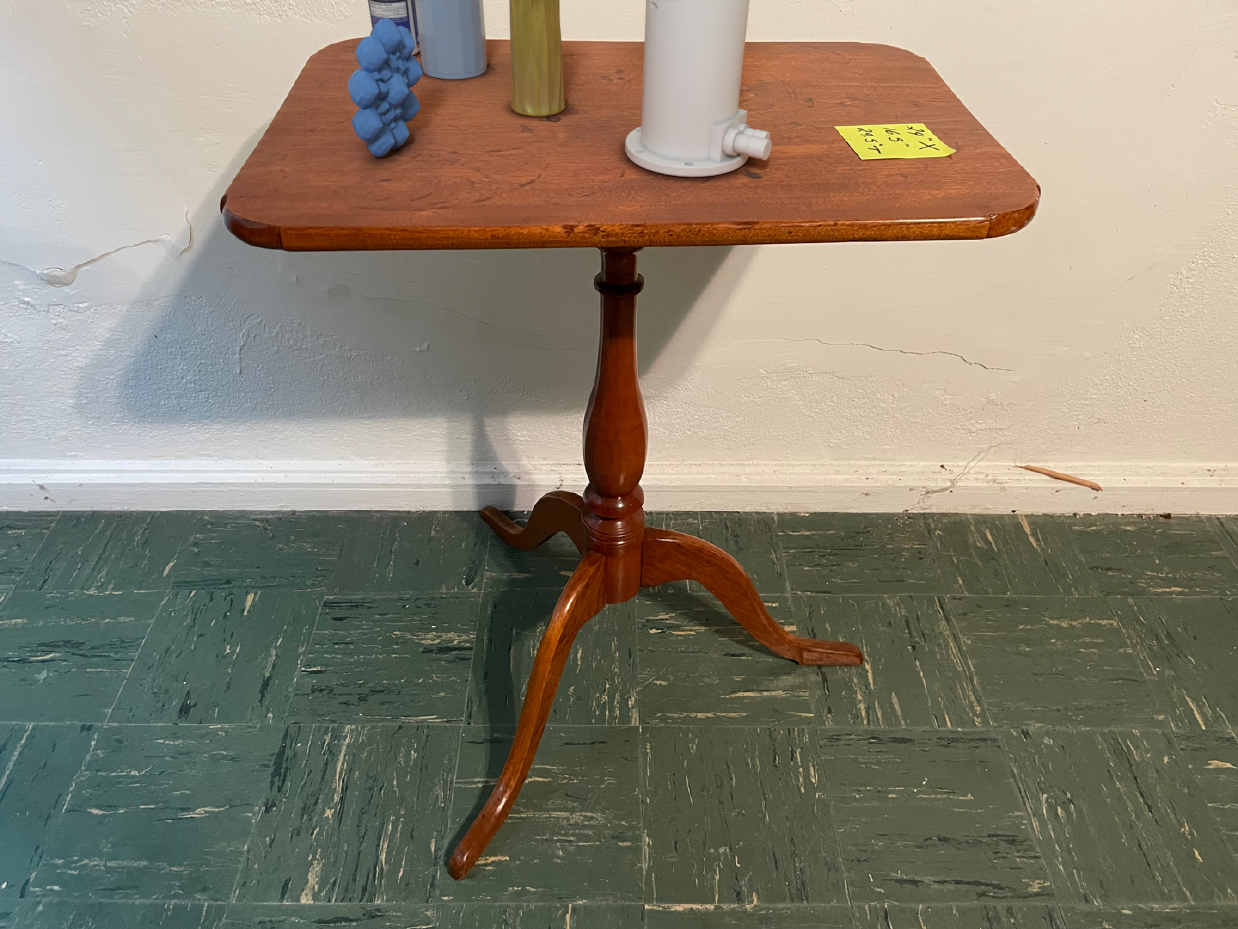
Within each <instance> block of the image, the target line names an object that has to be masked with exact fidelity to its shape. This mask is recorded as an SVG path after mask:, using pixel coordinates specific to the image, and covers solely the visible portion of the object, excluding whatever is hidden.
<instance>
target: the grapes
mask: <svg viewBox="0 0 1238 929" xmlns="http://www.w3.org/2000/svg"><path fill="white" fill-rule="evenodd" d="M415 46H416V45H415V42H414V39H413V36H412V34H411V33H410V32H409V30H408V29H407V28H405V27H403V26H398V27H397V26H396V24H395V23H394V21H392V20H390V19H388V18H384V19H380V20H379V21H378V22H377V23H376V24H375V25H374V27H373V29H372V28H371V30H370V33H369V35H368V36H364V37H363V38H362V40H360V41H359V43H358V45H357V47H356V48H355V50H354V54H355V55H354V56H355V58H356V61H357V64H358V65H359V66H360V67H359V68H356V69H355V70H354V71H353V72H352V73H351V75H350V77H349V78H348V81H347V91H348V94H349V98H350V99H351V101H352V102H353V104H354V105H355V106H357V107H358V108H359V109H357V111H355V113H354V115H353V117H352V118H351V126H352V128H353V131H354V133H355V134H356V136H357V137H358V139H360V140H361V141H364V142H365V145H366V147H367V150H368V151H369V152H370V153H371V154H372V155H373V156H374V157H377V158H381V157H384V156H386V155H387V154H388V153H390V151H391V150H396V149H399V148H401V147H402V146H403V145H404V144H405V143H406V141H407V140H408V139H409V136H410V129H409V127H408V125H407V123H408V122H412V120H413V119H414V118H415V117H416V116H417V115H418V113H419V112H420V110H421V105H420V102H419V99H418V96H417V95H416V94H415V93H414V91H413V90H411V88H413V87H415V86H416V85H417V84H418V83H419V82H420V79H421V78H422V76H423V74H424V72H423V69H422V65H421V63H420V61H419V60H418V59H417V57H416V56H414V55H411V54H412V52H413V50H414V48H415Z"/></svg>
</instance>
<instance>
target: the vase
mask: <svg viewBox="0 0 1238 929" xmlns="http://www.w3.org/2000/svg"><path fill="white" fill-rule="evenodd" d="M508 2H509V3H508V4H509V9H508V10H509V47H510V48H509V51H510V108H511V109H512V110H513V111H514V112H515V113H517V114H519V115H522V116H526V117H536V118H541V117H550V116H554V115H558V114H560V113H562V112H563V111H564V110H565V109H566V102H565V96H564V95H565V92H564V91H565V88H564V86H565V85H564V65H563V64H564V63H563V43H562V42H563V41H562V30H561V29H562V28H561V14H560V12H561V10H560V9H561V8H560V7H561V4H560V0H508Z"/></svg>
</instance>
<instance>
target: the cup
mask: <svg viewBox="0 0 1238 929" xmlns="http://www.w3.org/2000/svg"><path fill="white" fill-rule="evenodd" d="M484 8H485V7H484V0H415V9H416V18H417V26H418V35H419V44H420V51H419V52H420V53H419V54H420V61H421V69H422V72H423V74H425V75H427V76H429V77H432V78H436V79H443V80H463V79H464V80H465V79H470V78H471V79H472V78H476V77H478V76H481V75H482V74H484V73H485V72H487V70H488V57H487V56H488V54H487V40H486V39H487V38H486V24H485V11H484Z"/></svg>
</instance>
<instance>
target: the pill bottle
mask: <svg viewBox="0 0 1238 929" xmlns="http://www.w3.org/2000/svg"><path fill="white" fill-rule="evenodd" d="M367 2H368V10H369V16H370V23H371V30H372V29H373V27H374V25H375V24H376V23H377V22H378V21H379V20H380V19H384V18H388V19H390V20H392V21H394V23H395V24H396V26H397V27H398V26H403V27H405V28H407V29H408V30H409V32H410V33H411V34H412V36H413V39H414V42H415V45H416V46H415V48H414V50H413V52H412V54H411V55H412V56H414V55H417V54H418V53H419V52H420V44H419V35H418V26H417V18H416V9H415V0H367Z"/></svg>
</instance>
